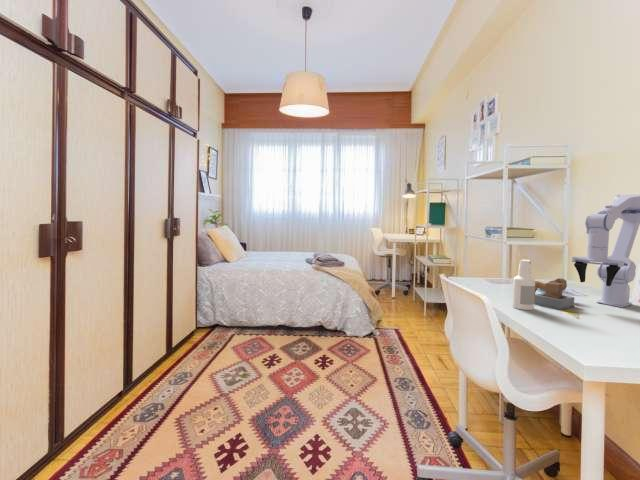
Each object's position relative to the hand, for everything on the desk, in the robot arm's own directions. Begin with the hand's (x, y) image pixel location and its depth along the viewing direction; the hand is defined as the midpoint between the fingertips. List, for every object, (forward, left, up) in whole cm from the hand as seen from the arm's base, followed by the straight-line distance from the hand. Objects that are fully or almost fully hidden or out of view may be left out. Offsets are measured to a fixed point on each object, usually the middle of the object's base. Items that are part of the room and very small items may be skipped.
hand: (595, 283), depth 117 cm
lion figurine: (-3, -17, -10) cm, 20 cm away
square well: (+7, -10, -9) cm, 15 cm away
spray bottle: (+21, -14, -10) cm, 27 cm away
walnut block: (+7, -10, -9) cm, 15 cm away
